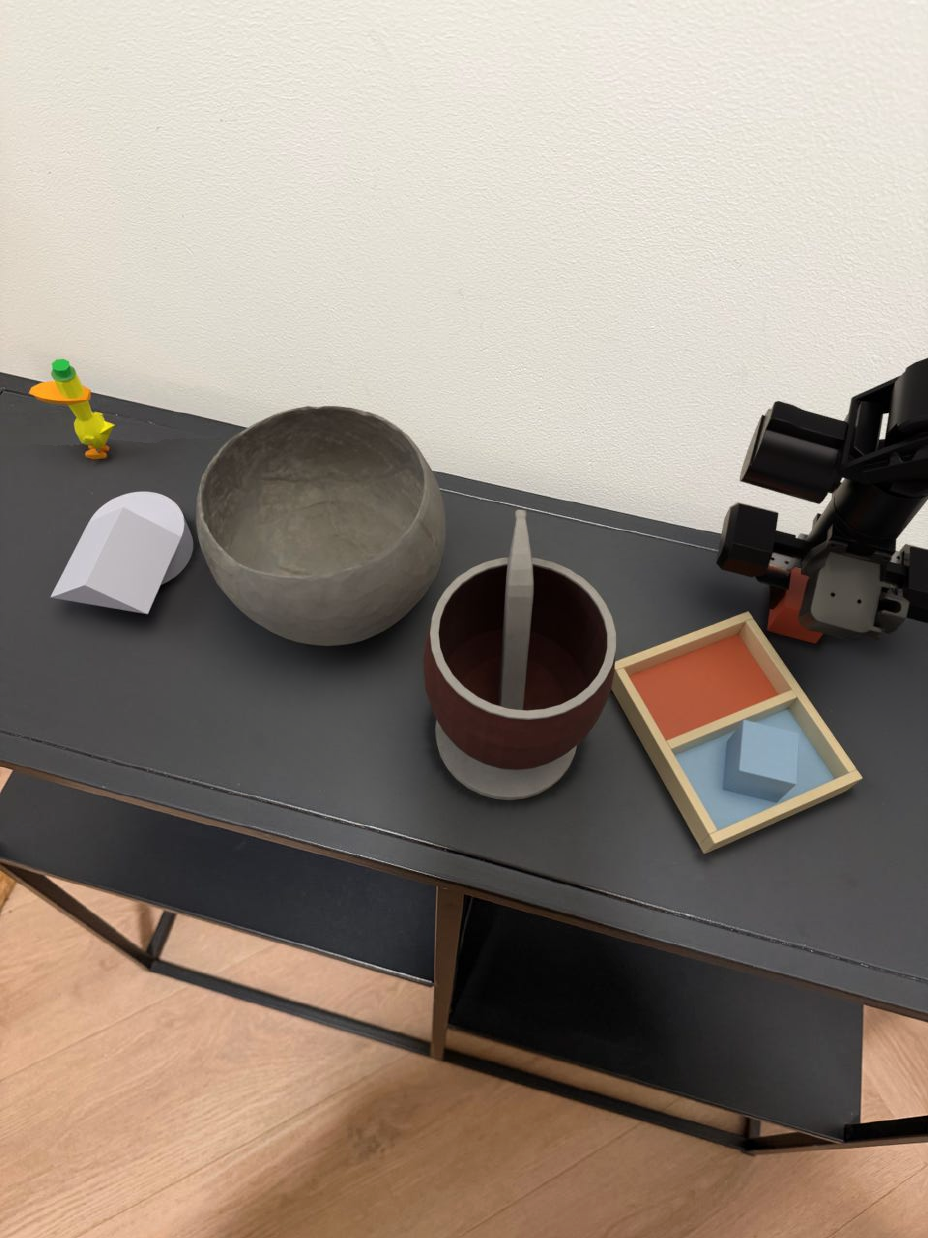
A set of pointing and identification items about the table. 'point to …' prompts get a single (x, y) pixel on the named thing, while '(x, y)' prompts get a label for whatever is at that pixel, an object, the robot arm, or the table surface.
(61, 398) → the toy figure
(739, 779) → the blue block
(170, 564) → the wedge on round base
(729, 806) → the sorting tray
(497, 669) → the mate gourd
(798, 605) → the red block
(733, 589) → the table surface
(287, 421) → the bowl
